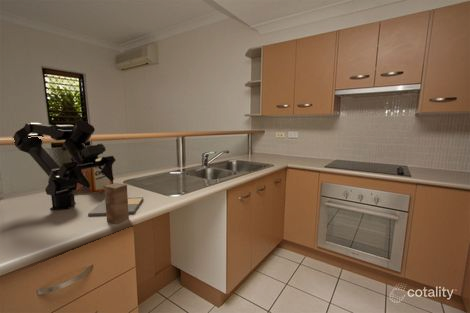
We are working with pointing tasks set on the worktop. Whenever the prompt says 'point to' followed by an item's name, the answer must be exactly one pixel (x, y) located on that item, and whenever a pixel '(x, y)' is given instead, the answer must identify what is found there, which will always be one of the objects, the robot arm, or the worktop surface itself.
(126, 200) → the walnut post
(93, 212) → the baseplate
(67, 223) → the worktop surface
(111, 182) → the baking soda box
